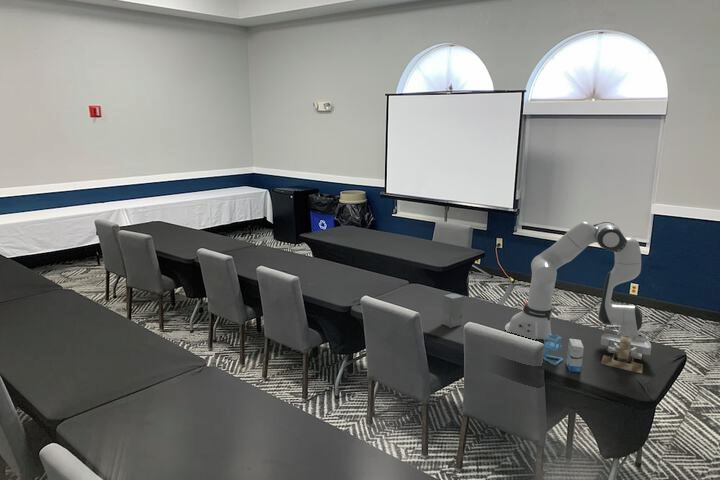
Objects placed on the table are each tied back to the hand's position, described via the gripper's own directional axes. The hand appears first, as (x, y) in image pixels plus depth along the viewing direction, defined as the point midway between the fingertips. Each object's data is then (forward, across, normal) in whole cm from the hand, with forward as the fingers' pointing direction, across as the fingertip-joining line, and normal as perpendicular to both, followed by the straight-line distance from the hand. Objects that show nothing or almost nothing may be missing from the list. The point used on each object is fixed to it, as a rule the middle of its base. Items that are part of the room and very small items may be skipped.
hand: (624, 350), depth 230 cm
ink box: (+14, -18, +7) cm, 24 cm away
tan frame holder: (-1, 0, +7) cm, 7 cm away
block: (-1, 0, +7) cm, 7 cm away
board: (-16, 0, +7) cm, 17 cm away
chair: (+12, -28, +7) cm, 31 cm away
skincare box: (-1, -80, +7) cm, 80 cm away
